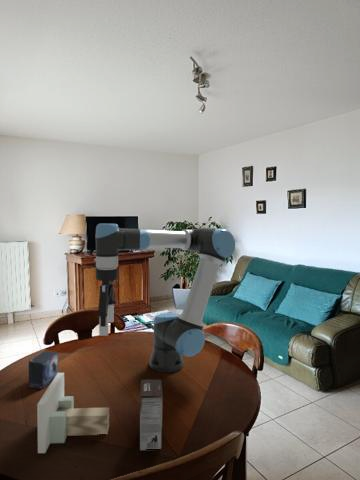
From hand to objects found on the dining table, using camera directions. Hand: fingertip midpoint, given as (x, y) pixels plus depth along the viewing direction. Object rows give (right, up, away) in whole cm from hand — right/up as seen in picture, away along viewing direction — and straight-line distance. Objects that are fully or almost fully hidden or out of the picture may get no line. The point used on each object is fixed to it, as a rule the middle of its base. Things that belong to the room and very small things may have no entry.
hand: (106, 328), depth 110 cm
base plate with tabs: (-10, -28, -14) cm, 33 cm away
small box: (-28, -26, +15) cm, 41 cm away
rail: (-4, -28, -14) cm, 31 cm away
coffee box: (+17, -28, -17) cm, 37 cm away
